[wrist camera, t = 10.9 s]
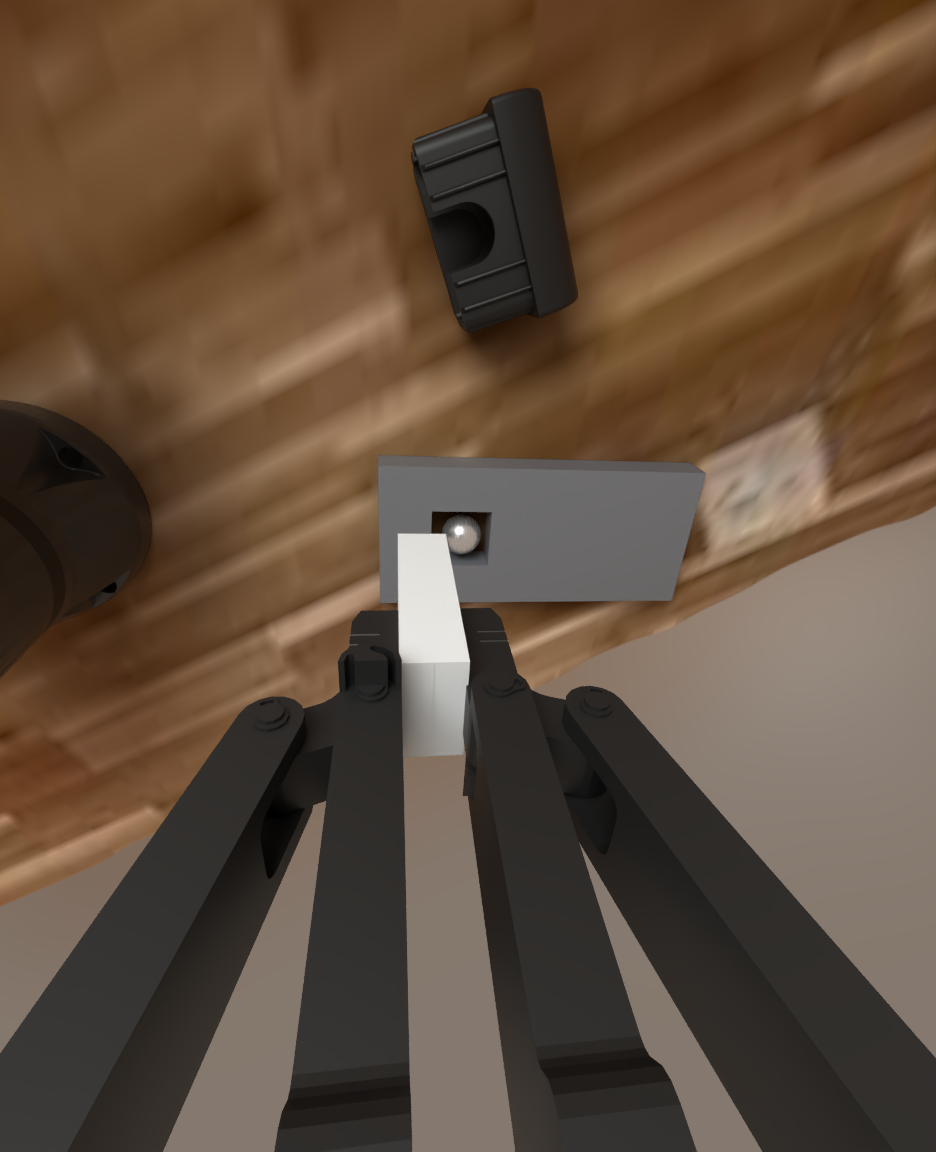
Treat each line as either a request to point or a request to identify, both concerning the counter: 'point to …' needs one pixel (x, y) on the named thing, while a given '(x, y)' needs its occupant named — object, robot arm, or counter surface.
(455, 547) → the steel ball
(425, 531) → the hole plate
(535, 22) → the counter surface
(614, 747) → the robot arm
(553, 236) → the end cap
